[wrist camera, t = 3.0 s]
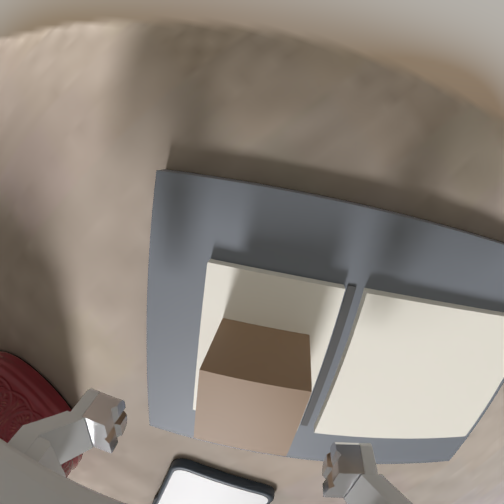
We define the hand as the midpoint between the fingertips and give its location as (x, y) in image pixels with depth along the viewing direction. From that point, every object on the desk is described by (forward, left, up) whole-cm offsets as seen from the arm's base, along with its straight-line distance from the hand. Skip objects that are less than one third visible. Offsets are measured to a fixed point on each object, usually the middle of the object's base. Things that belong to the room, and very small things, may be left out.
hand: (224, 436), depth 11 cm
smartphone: (+1, +20, -7) cm, 22 cm away
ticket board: (-6, -1, -6) cm, 8 cm away
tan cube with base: (-1, -1, -5) cm, 5 cm away
